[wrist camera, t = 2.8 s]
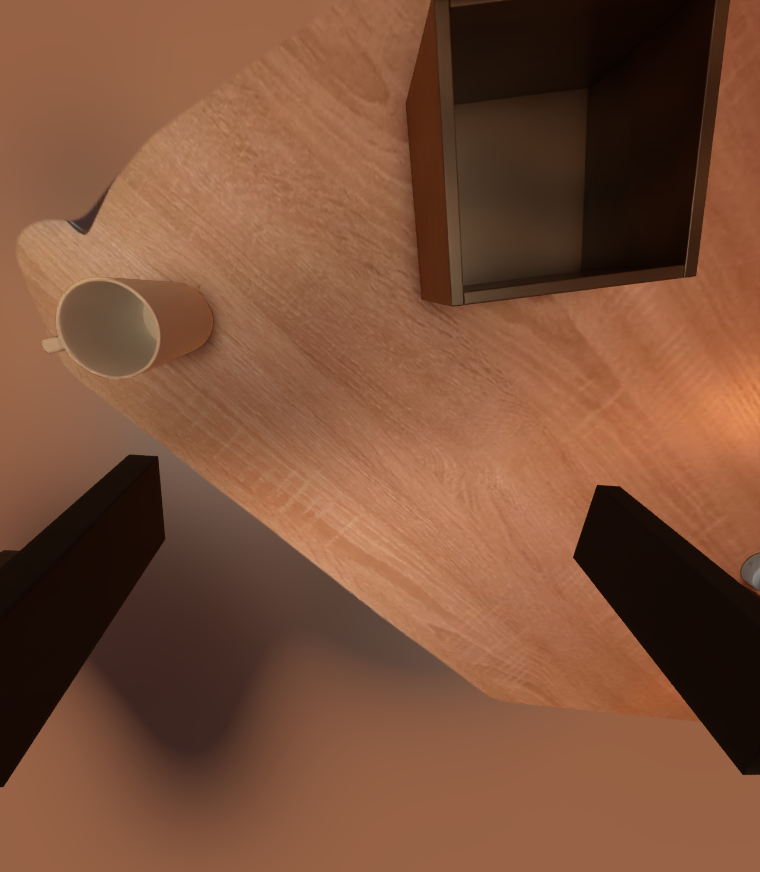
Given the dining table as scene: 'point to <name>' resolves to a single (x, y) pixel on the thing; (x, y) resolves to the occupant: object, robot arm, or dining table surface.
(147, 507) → the robot arm
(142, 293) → the mug
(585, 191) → the chest
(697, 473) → the dining table surface
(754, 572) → the spotlight
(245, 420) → the dining table surface
